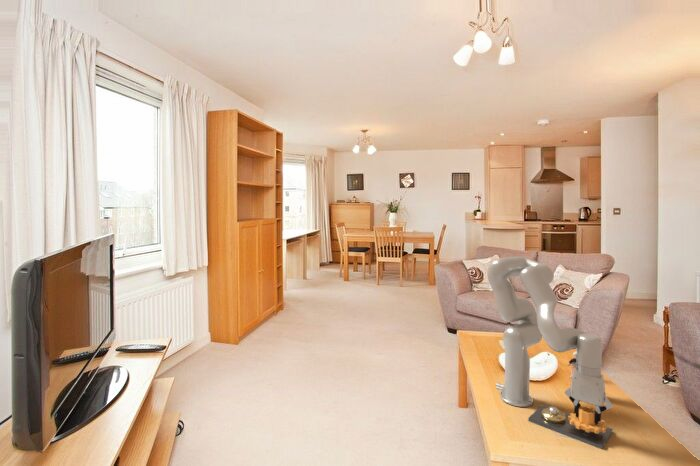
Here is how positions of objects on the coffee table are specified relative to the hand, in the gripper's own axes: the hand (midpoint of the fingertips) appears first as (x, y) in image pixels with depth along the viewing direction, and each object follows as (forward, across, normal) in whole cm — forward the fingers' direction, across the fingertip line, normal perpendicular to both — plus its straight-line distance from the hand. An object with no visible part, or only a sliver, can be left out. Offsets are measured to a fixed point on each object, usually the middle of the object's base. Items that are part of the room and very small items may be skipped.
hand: (587, 418), depth 137 cm
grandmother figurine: (+5, -17, +47) cm, 50 cm away
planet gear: (+2, 0, 0) cm, 2 cm away
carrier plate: (+5, -6, 0) cm, 8 cm away
